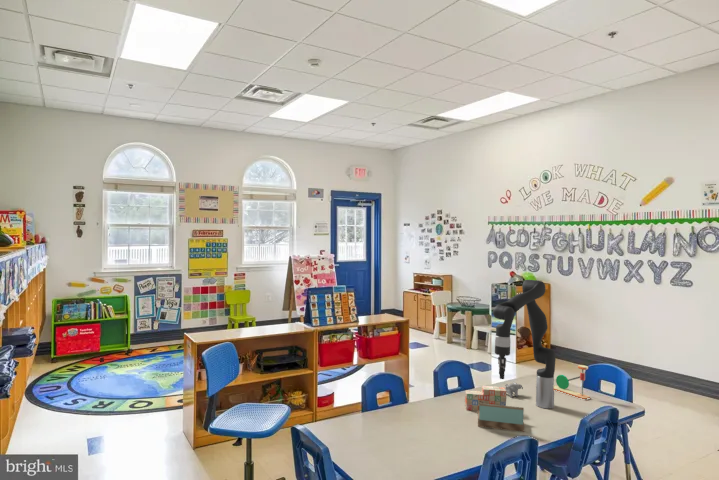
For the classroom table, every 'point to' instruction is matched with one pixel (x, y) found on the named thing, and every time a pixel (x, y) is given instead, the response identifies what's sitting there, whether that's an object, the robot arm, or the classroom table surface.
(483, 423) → the cart bed
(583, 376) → the crank mechanism
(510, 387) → the gray elephant figurine
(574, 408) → the classroom table surface
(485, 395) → the stack of blocks
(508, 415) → the tailgate
